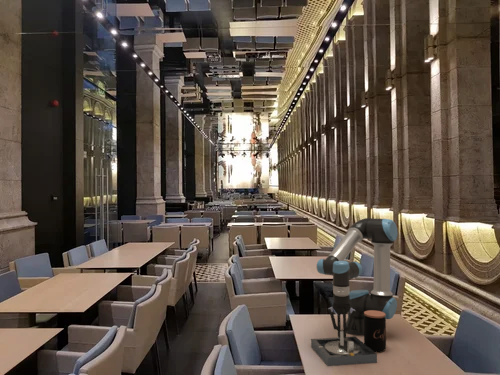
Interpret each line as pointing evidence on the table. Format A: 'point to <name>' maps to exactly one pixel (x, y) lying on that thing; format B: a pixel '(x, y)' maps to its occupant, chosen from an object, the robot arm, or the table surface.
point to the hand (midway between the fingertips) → (342, 344)
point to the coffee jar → (375, 330)
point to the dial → (342, 347)
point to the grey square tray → (347, 359)
